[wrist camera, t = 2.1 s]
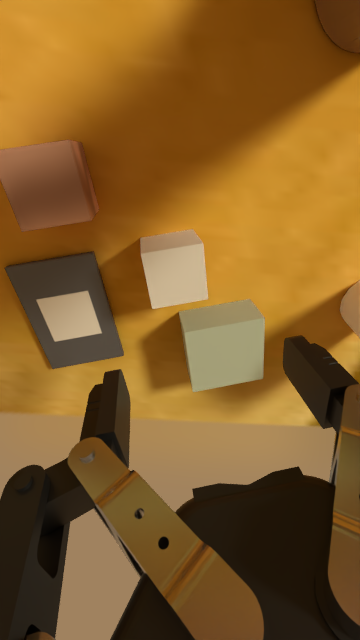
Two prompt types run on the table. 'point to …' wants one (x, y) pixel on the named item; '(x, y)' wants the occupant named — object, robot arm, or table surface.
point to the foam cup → (352, 308)
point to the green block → (223, 344)
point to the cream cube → (174, 268)
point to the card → (67, 308)
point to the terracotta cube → (48, 184)
